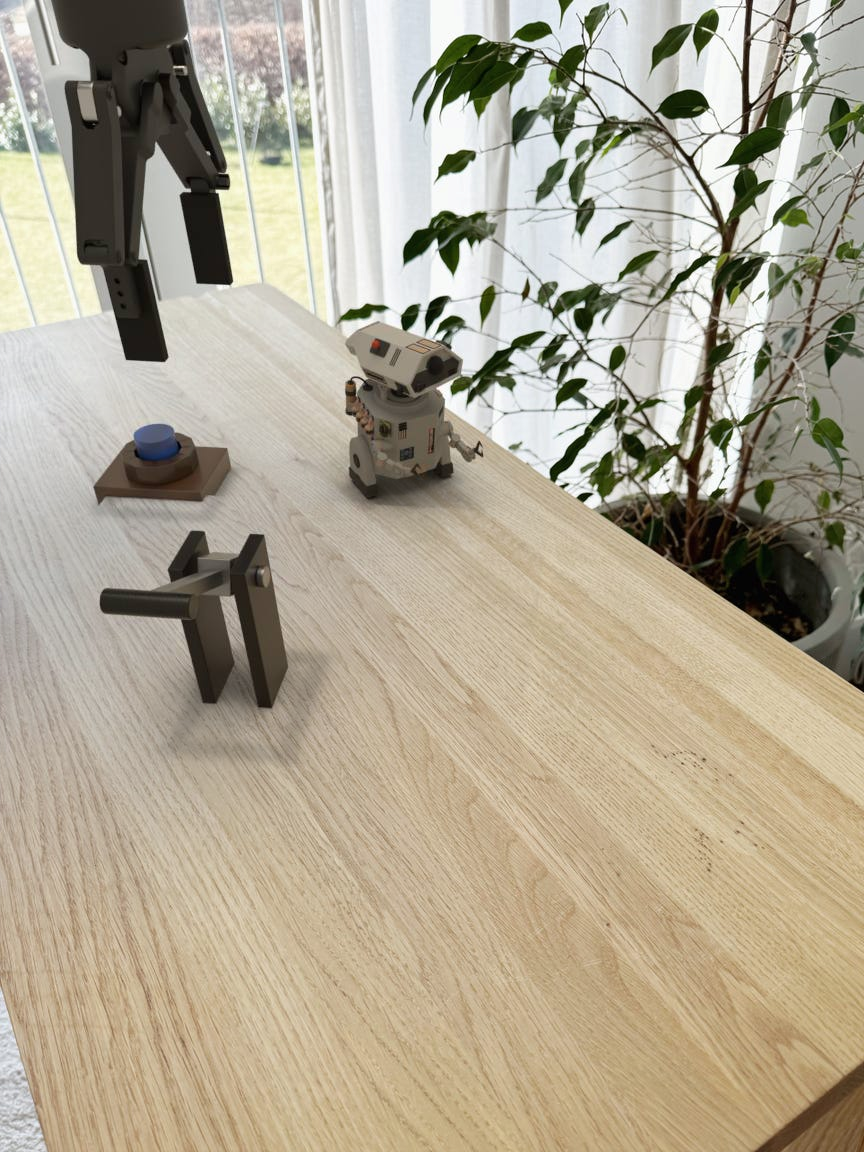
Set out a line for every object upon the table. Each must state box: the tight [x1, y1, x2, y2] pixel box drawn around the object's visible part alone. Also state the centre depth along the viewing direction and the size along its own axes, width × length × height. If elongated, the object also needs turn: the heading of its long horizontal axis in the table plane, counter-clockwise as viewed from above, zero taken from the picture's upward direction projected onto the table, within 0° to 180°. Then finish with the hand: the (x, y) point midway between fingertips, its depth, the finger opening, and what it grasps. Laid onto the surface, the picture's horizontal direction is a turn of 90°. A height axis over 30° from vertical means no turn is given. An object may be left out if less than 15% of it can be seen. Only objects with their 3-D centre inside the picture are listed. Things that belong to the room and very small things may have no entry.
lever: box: [99, 551, 240, 620], centre depth 60 cm, size 13×5×2 cm, turn 173°
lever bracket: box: [167, 529, 289, 709], centre depth 68 cm, size 10×8×13 cm
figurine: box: [344, 320, 484, 499], centre depth 89 cm, size 9×12×15 cm
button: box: [133, 423, 179, 461], centre depth 91 cm, size 4×4×2 cm
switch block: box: [93, 431, 232, 506], centre depth 93 cm, size 10×8×4 cm
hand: (183, 318), depth 72 cm, fingers open, 13 cm apart
